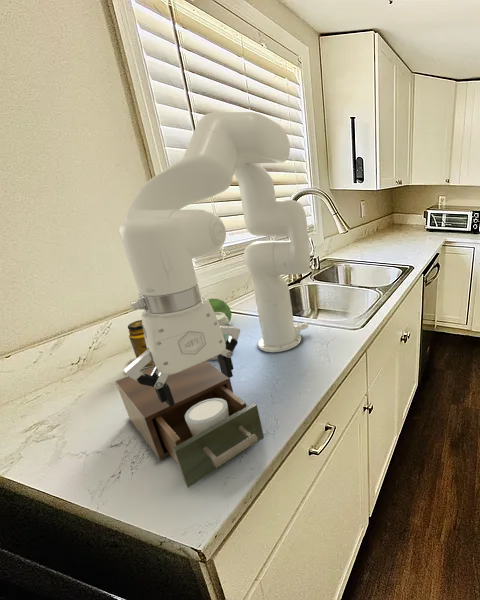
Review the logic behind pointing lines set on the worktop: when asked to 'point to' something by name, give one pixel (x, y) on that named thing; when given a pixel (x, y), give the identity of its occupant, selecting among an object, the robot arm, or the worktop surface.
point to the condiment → (138, 340)
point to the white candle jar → (206, 414)
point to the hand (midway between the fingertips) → (200, 387)
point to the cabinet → (148, 406)
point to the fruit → (220, 307)
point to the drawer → (208, 435)
